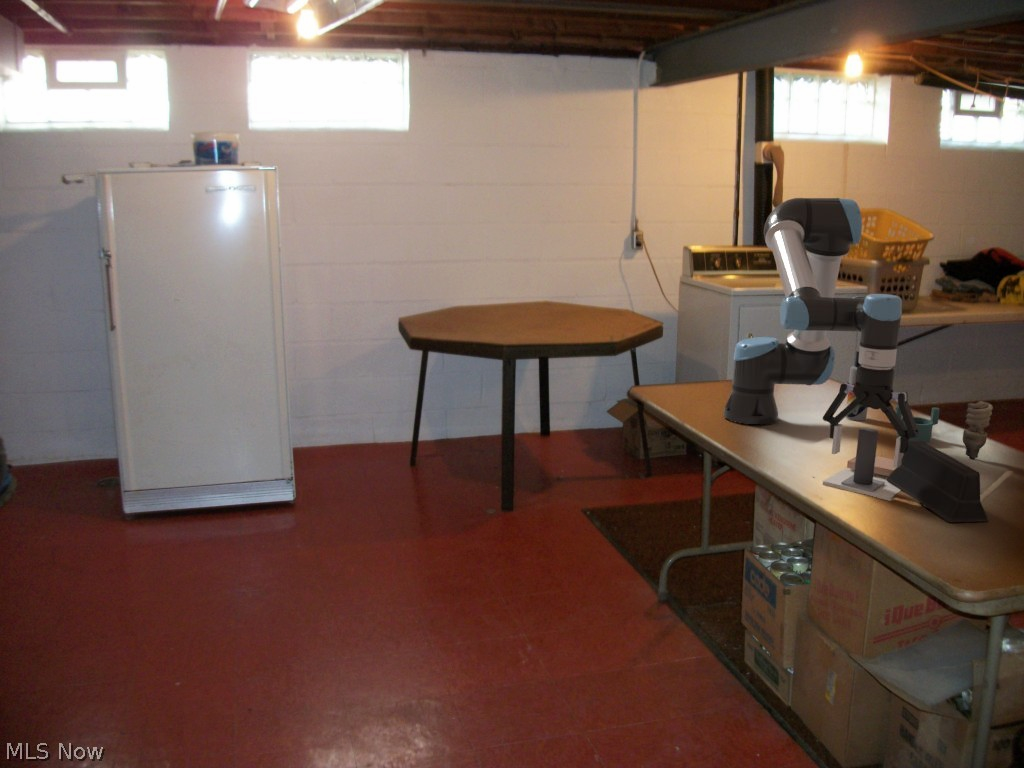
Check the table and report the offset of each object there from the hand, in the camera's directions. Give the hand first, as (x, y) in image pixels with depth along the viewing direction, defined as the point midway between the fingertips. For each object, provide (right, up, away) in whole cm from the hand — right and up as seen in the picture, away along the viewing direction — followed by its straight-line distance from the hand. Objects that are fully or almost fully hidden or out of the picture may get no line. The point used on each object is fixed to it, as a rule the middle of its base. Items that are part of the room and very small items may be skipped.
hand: (865, 459), depth 192 cm
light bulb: (+36, -2, +23) cm, 42 cm away
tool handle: (0, -5, +1) cm, 5 cm away
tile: (+11, -2, +14) cm, 18 cm away
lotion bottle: (+21, +7, +59) cm, 63 cm away
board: (+6, -5, +8) cm, 11 cm away
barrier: (+12, -8, -7) cm, 16 cm away
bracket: (+29, +2, +40) cm, 50 cm away
